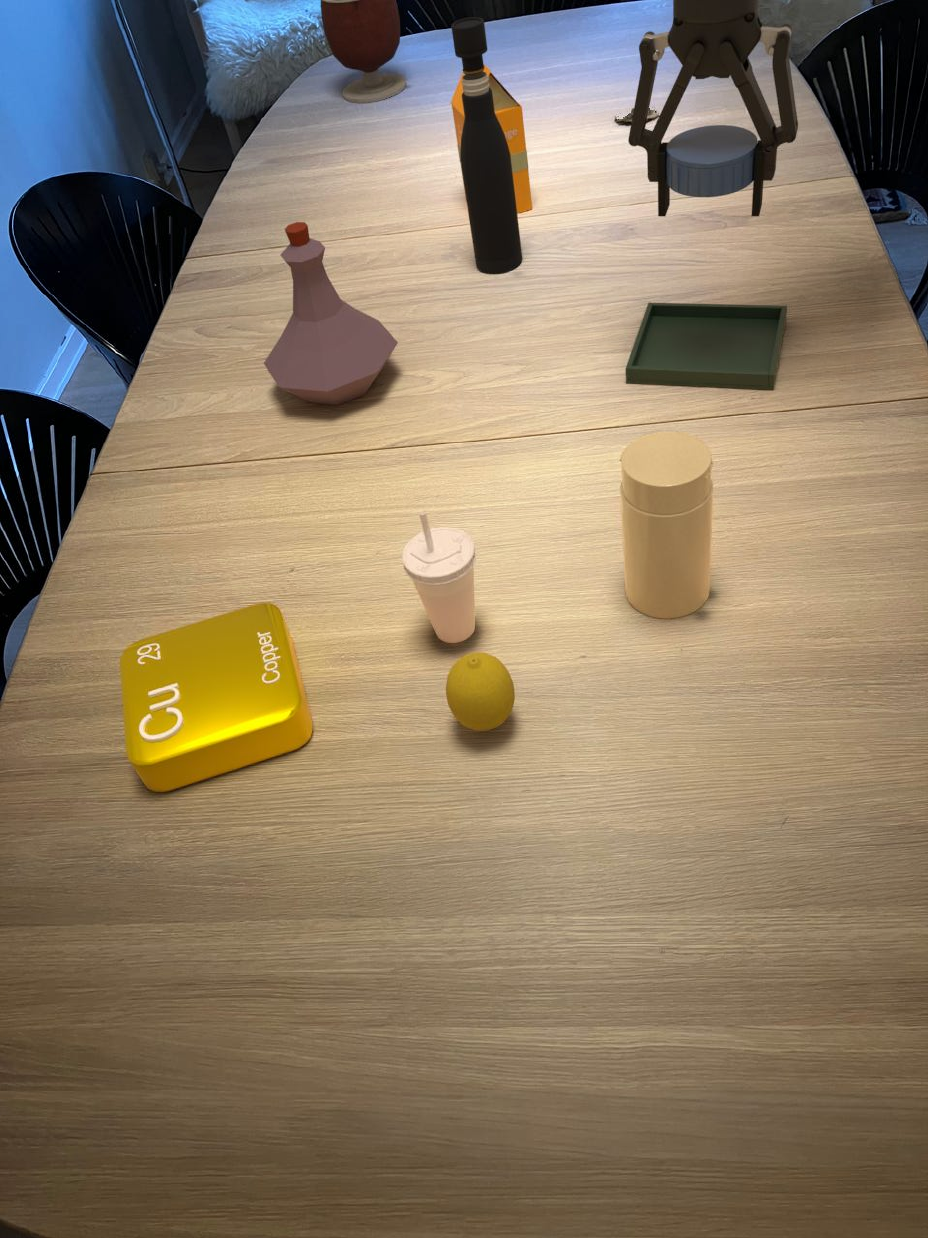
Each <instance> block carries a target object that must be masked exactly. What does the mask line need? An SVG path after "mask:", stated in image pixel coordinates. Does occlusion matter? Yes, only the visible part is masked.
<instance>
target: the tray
mask: <svg viewBox="0 0 928 1238" xmlns="http://www.w3.org/2000/svg"><path fill="white" fill-rule="evenodd" d="M787 315H788V305H777V304H776V305H774V304H773V305H772V304H733V303H732V304H729V303H728V304H727V303H690V302H689V303H687V302H684V303H683V302H648V303H647V306H646V308H645V311H644V315H643V317H642V320H641V323H640V325H639V328H638V332H637V334H636V337H635V340H634V343H633V346H632V349H631V350H630V355H629V357H628V360H627V363H626V365H625V383H626V384H632V385H633V384H635V385H636V384H637V385H656V386H657V385H658V386H676V387H677V386H678V387H697V388H717V389H718V388H720V389H721V388H722V389H723V388H724V389H740V390H741V389H742V390H760V391H761V390H762V391H763V390H764V391H774V390H775V383H776V380H777V379H776V378H777V372H778V366H779V361H780V356H781V352H782V351H781V350H782V345H783V340H784V336H785V335H784V334H785V329H786V323H787Z"/></svg>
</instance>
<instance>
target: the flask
mask: <svg viewBox="0 0 928 1238" xmlns="http://www.w3.org/2000/svg"><path fill="white" fill-rule="evenodd" d="M284 232H285V234H286V236H287V239H288V242H289V244H288V245H287V246H286V248H284V249H283V251H282V252H281V253H280V257H281V258H282V259H283V260H284V262H285V263H286V264H287V265H288V266H289V268H290V273H291V277H292V313H291V316H290V318H289V320H288V321H287V324H286V326H285V328H284V329H283V332H282V333H281V335H280V336H279V339H278V340H277V341H276V343H275V345H274V347H273V348H272V350H271V351H270V352H269V354H268V356H267V357H266V359H264V362H263V365H264V367H265V368H266V370H267V371H268V372H269V374H270V376H271V377H272V378H273V380H274V382H275V383H276V385H277V386H278V388H279V389H281V390H284V391H286V392H287V393H290V394H292V395H293V396H295V397H298V398H300V399H302V400H304V401H306V402H308V403H311V404H320V405H329V406H330V405H332V406H339V405H342V404H344V403H347V402H350V401H351V400H354V399H357V398H360V397H362V396H364V395H366V394H367V392H368V391H369V389H370V387H371V386H372V385H373V384H374V382H375V381H376V379H377V377H379V374H380V372H381V371H382V369H383V368H384V366H385V365H386V363H387V361H388V360H389V358H390V357H391V355H392V353H393V351H394V350H395V349H396V347H397V345H398V343H399V341H398V340H396V338H395V337H394V336H393V334H391V333H390V332H389V330H388V329H387V328H386V326H384V324H383V323H382V322H381V321H380V320H378V319H377V318H374V317H372V315H369V314H367V313H365V312H363V311H361V310H359V309H357V308H355V307H354V306H352V305H351V304H349V303H347V302H346V301H345V300H344V299H341V297H340V295H339V294H338V292H337V290H336V289H335V287H334V285H333V284H332V282H331V280H330V278H329V276H328V274H327V271H326V269H325V266H324V262H323V260H324V256H325V250H326V247H325V246H324V244H323V243H322V242H321V241H320V240H317V239H314V238H311V237H310V232H309V226H308V224H307V223H306V222H305V221H296V222H293V223H290V224H288V225H287V226H286V227H285V228H284Z"/></svg>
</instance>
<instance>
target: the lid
mask: <svg viewBox="0 0 928 1238" xmlns="http://www.w3.org/2000/svg"><path fill="white" fill-rule="evenodd" d="M758 140H759V139H758V137H757V135H756V134H755V133H754V132H753V131H751V130H749V129H748V128H745V127H741V126H736V125H728V124H727V125H726V124H714V125H713V124H712V125H704V126H699V127H694V128H691V129H690V128H689V129H688V130H684V131H683V132H680V133H678V134H676V135H675V136H674V137H673V136H672V138H671V139H670V140H669V141H667V142H668V144H667V147H666V152H667V153H666V155H667V184H668V186H669V188H670V190H671V191H673V192H674V193H677V194H679V195H682V196H686V197H692V198H716V197H717V198H718V197H722V196H727V195H732V194H734V193H737V192H740V191H742V190H744V189H745V188H747V187H748V186H750V185H751V184H752V183H753V180H754V163H755V151H756V148H757V144H758Z"/></svg>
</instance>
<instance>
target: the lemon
mask: <svg viewBox="0 0 928 1238" xmlns="http://www.w3.org/2000/svg"><path fill="white" fill-rule="evenodd" d="M445 694H446V702H447V706H448V707H449V709H450V711H451V713H452V716H453V717H454V718H455V719H456V720H457V721H458V722H459V723H460V724H461V725H462V726H464V727H465V728H468V729H469V730H473V731H477V732H479V731H480V732H486V731H491V730H493V729H496V728H497V727H500V726H501V725H502V724H503V723H504V722H505V721H506V720H507V719H508V718H509V716H510V715H511V713H512V711H513V708H514V704H515V700H516V699H515V698H516V696H515V684H514V681H513V679H512V676H511V674H510V671H509V670H508V669H507V667H506V666H505V664H504V663H503V662H502V661H501V660H500V659H498V658H497V657H496V656H495V655H492V654H490V653H487V652H471V653H468V654H465V655H463V656H461V657H460V658H459V659H457V660H456V661H455V662H454V664H453V665H452V666H451V667H450V670H449V672H448V674H447V678H446V684H445Z"/></svg>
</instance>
